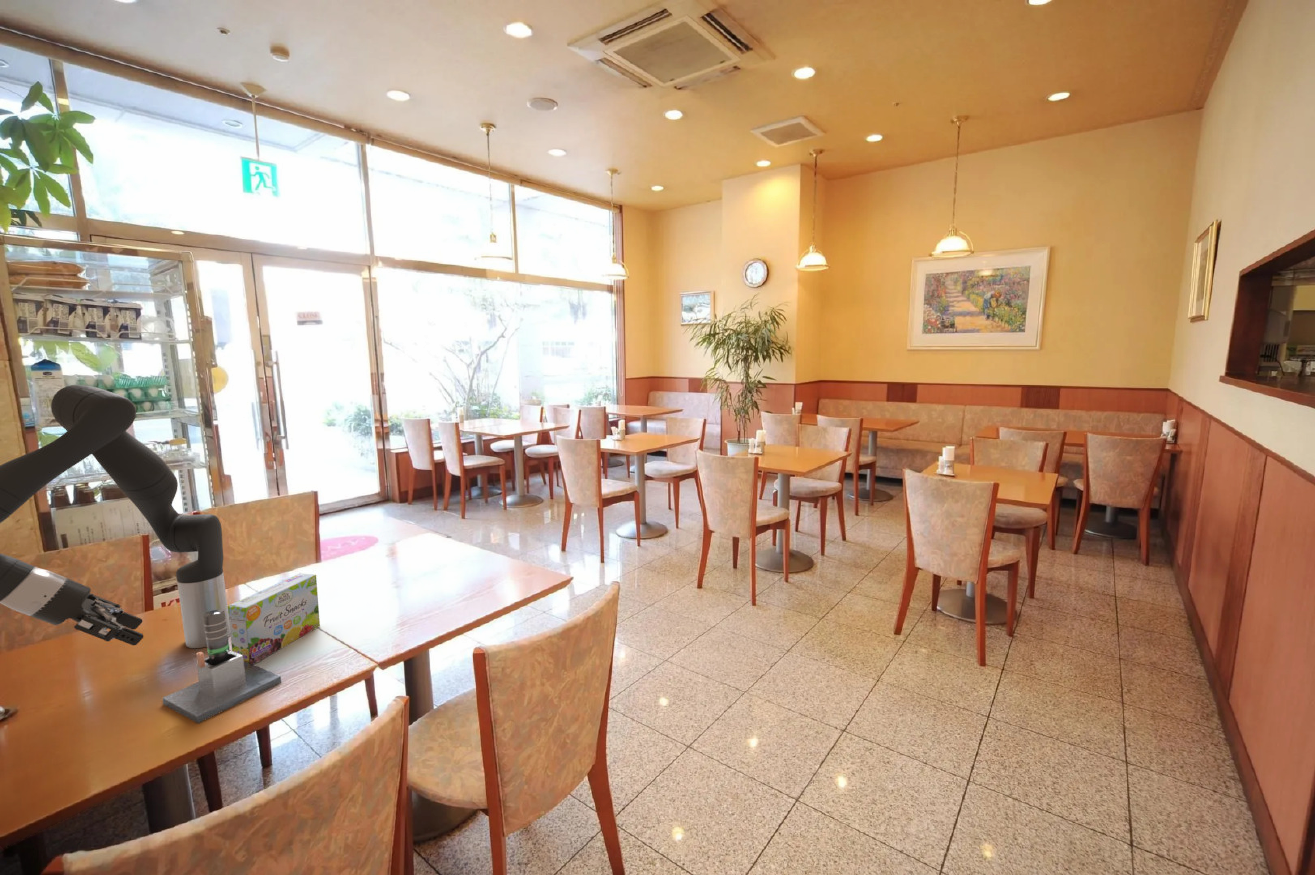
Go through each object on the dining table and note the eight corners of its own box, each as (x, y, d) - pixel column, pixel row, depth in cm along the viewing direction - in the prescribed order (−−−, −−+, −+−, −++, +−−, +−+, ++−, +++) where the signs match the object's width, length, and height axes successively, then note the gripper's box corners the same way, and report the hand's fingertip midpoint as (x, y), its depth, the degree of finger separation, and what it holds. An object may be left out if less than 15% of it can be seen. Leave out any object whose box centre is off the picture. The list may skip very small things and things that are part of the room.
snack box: (252, 668, 133) (245, 607, 131) (232, 665, 134) (225, 605, 132) (322, 626, 154) (316, 573, 152) (304, 624, 155) (298, 571, 153)
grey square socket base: (163, 704, 119) (156, 655, 118) (246, 667, 133) (240, 623, 132) (198, 723, 113) (191, 672, 111) (281, 682, 127) (276, 636, 126)
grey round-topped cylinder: (206, 669, 122) (199, 615, 120) (225, 661, 125) (219, 608, 123) (215, 674, 120) (208, 618, 118) (235, 665, 123) (228, 611, 121)
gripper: (61, 589, 100) (157, 628, 109) (67, 567, 110) (153, 604, 120) (22, 628, 97) (123, 664, 107) (31, 601, 107) (123, 636, 117)
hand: (139, 632), depth 113 cm, fingers open, 8 cm apart
